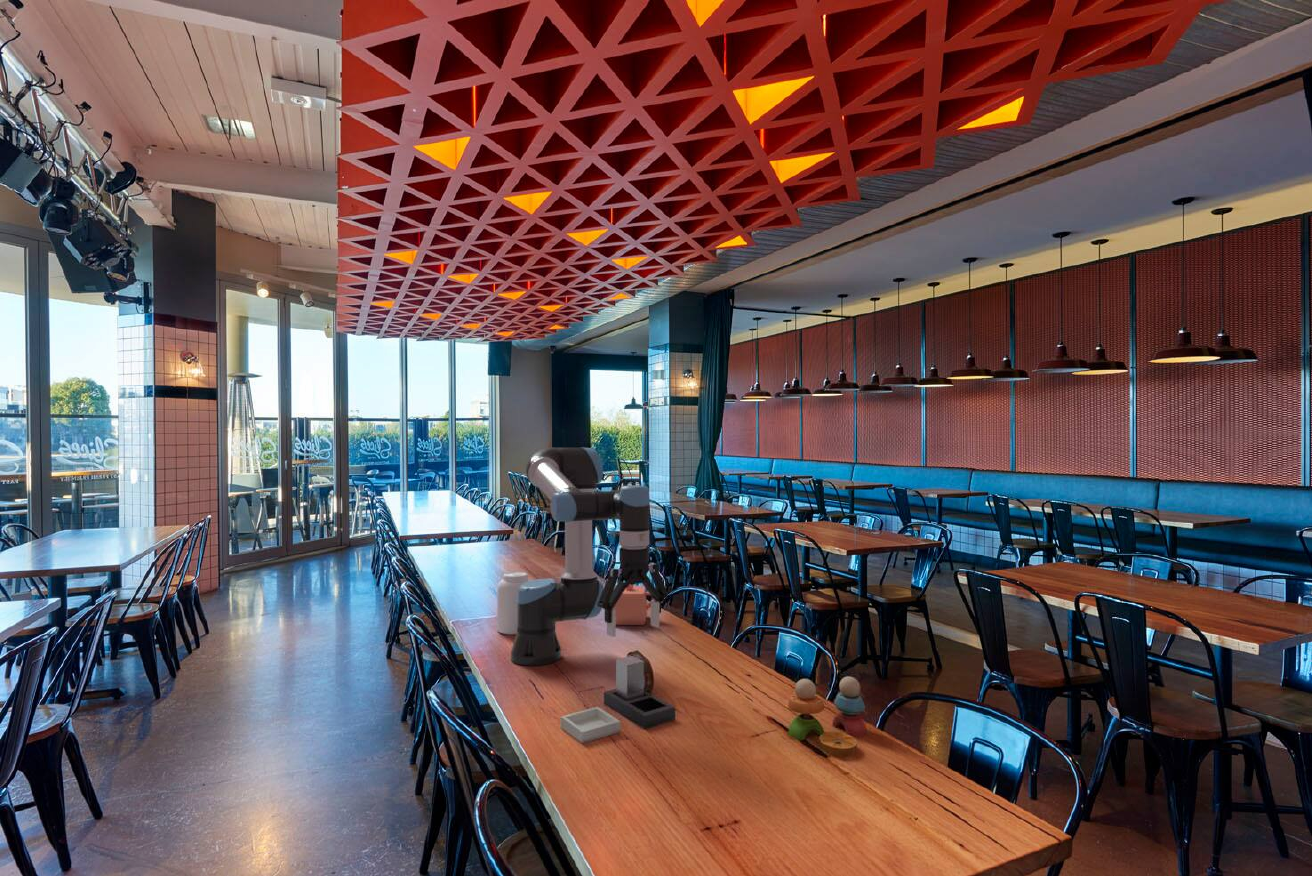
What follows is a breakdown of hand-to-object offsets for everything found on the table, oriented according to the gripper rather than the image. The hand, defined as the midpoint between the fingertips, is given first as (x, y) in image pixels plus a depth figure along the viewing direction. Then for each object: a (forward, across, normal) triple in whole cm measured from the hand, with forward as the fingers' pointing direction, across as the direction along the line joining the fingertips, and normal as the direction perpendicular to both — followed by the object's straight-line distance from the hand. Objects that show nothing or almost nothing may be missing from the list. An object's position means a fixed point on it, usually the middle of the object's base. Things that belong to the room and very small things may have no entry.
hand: (633, 630), depth 166 cm
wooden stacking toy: (+19, +27, -42) cm, 53 cm away
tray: (+19, -16, -6) cm, 25 cm away
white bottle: (+19, +5, +78) cm, 81 cm away
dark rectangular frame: (+19, -1, -4) cm, 19 cm away
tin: (+19, +9, +10) cm, 23 cm away
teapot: (+19, +45, +66) cm, 83 cm away
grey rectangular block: (+18, -1, 0) cm, 18 cm away
